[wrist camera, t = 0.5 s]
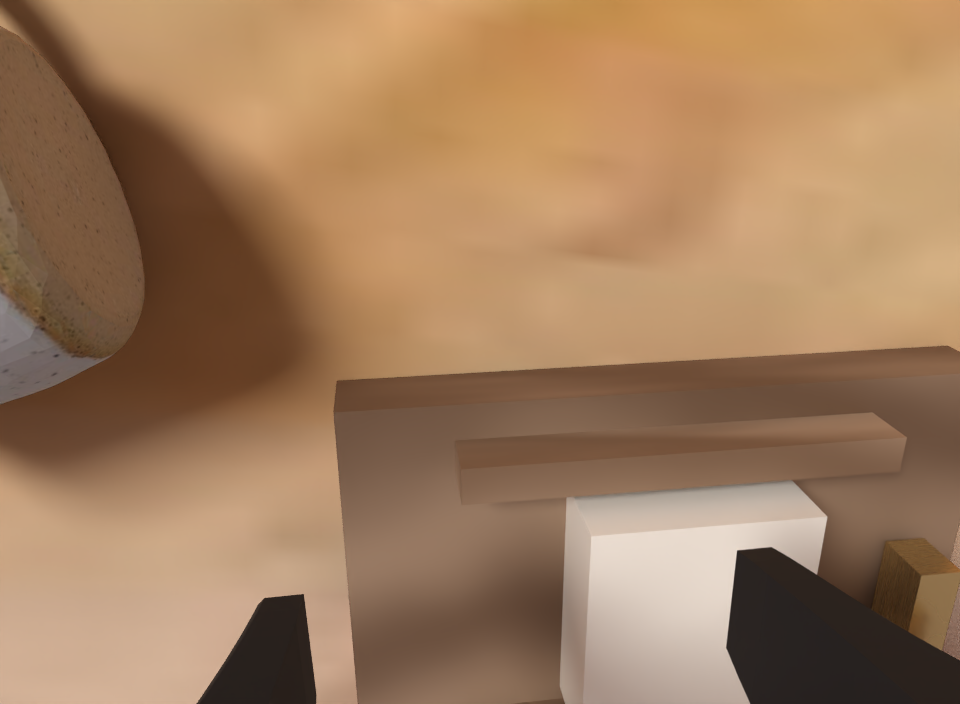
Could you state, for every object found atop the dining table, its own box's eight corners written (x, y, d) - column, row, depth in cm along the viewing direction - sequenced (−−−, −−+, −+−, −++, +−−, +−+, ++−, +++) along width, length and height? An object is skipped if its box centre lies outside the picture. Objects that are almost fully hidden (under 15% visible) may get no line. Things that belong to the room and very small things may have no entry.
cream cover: (749, 665, 24) (789, 730, 22) (559, 685, 24) (579, 754, 21) (778, 467, 22) (827, 516, 19) (567, 482, 21) (591, 536, 19)
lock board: (862, 727, 29) (925, 813, 26) (369, 785, 27) (369, 887, 23) (948, 345, 23) (1040, 393, 20) (336, 381, 21) (330, 440, 18)
